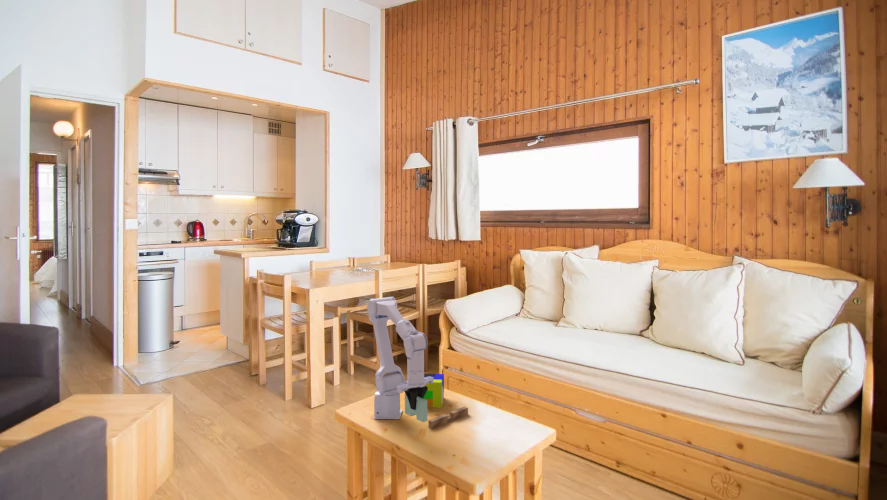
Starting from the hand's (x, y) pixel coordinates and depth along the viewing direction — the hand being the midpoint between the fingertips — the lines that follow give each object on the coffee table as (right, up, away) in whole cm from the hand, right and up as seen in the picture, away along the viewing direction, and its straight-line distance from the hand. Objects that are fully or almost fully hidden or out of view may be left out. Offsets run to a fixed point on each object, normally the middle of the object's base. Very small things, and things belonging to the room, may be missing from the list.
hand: (415, 408), depth 159 cm
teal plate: (0, -3, 0) cm, 3 cm away
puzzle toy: (+4, -7, +27) cm, 29 cm away
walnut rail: (+11, -8, +10) cm, 17 cm away
